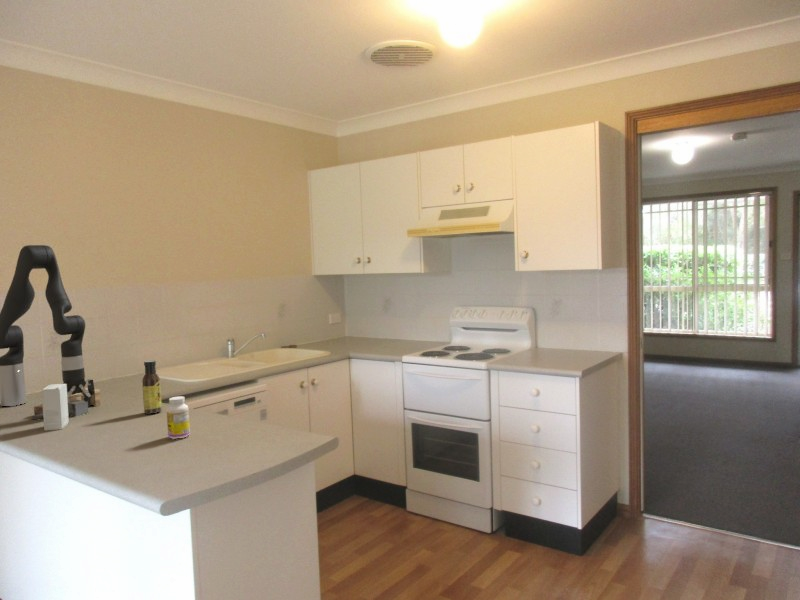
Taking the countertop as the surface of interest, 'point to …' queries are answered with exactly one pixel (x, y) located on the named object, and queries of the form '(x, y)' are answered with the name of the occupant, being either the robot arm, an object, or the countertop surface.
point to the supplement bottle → (178, 418)
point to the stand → (93, 398)
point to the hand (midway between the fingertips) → (76, 409)
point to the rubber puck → (37, 416)
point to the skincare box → (55, 406)
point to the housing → (77, 407)
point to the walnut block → (38, 409)
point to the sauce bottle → (151, 389)
